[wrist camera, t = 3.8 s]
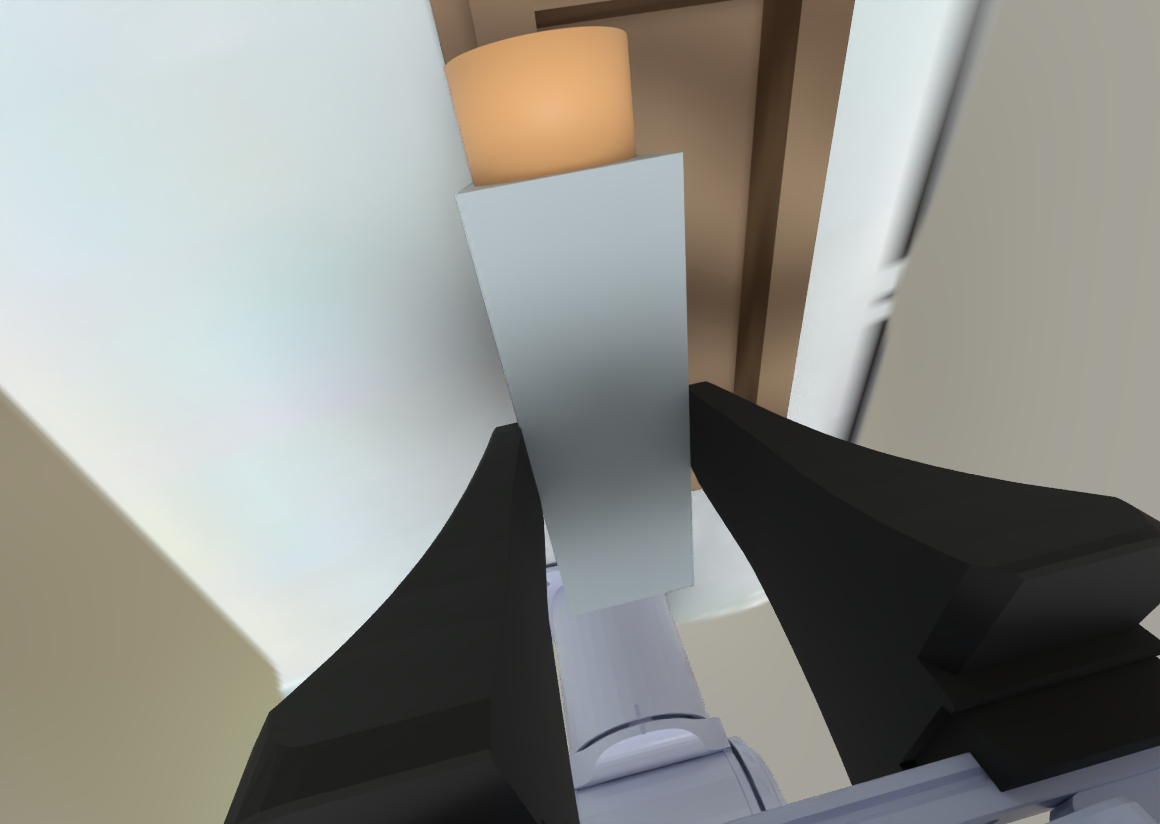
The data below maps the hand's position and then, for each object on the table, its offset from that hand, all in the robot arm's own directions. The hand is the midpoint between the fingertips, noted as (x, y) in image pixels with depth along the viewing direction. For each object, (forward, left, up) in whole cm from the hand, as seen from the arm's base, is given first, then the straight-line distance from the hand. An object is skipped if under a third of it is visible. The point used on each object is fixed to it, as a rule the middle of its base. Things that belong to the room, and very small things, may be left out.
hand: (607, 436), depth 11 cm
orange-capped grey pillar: (0, 0, -4) cm, 5 cm away
